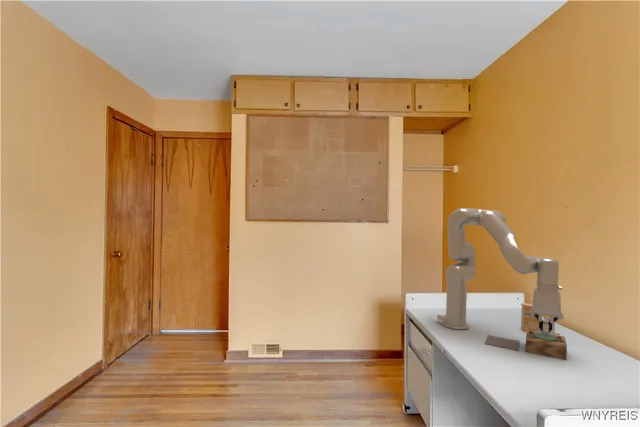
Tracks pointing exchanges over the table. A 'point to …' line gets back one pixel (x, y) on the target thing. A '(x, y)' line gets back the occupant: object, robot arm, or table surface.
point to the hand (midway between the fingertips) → (545, 330)
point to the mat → (502, 342)
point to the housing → (546, 346)
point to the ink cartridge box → (552, 327)
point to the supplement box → (528, 319)
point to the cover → (545, 333)
